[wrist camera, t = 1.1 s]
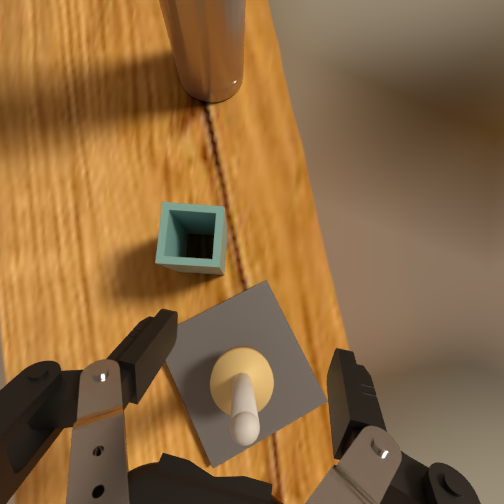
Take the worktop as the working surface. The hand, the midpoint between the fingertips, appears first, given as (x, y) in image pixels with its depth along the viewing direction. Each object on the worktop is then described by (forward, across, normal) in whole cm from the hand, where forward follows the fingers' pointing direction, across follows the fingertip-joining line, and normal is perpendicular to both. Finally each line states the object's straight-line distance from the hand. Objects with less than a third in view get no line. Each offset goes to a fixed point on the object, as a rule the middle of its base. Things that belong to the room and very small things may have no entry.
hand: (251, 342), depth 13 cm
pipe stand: (+14, +2, +17) cm, 22 cm away
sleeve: (+20, +9, +5) cm, 23 cm away
